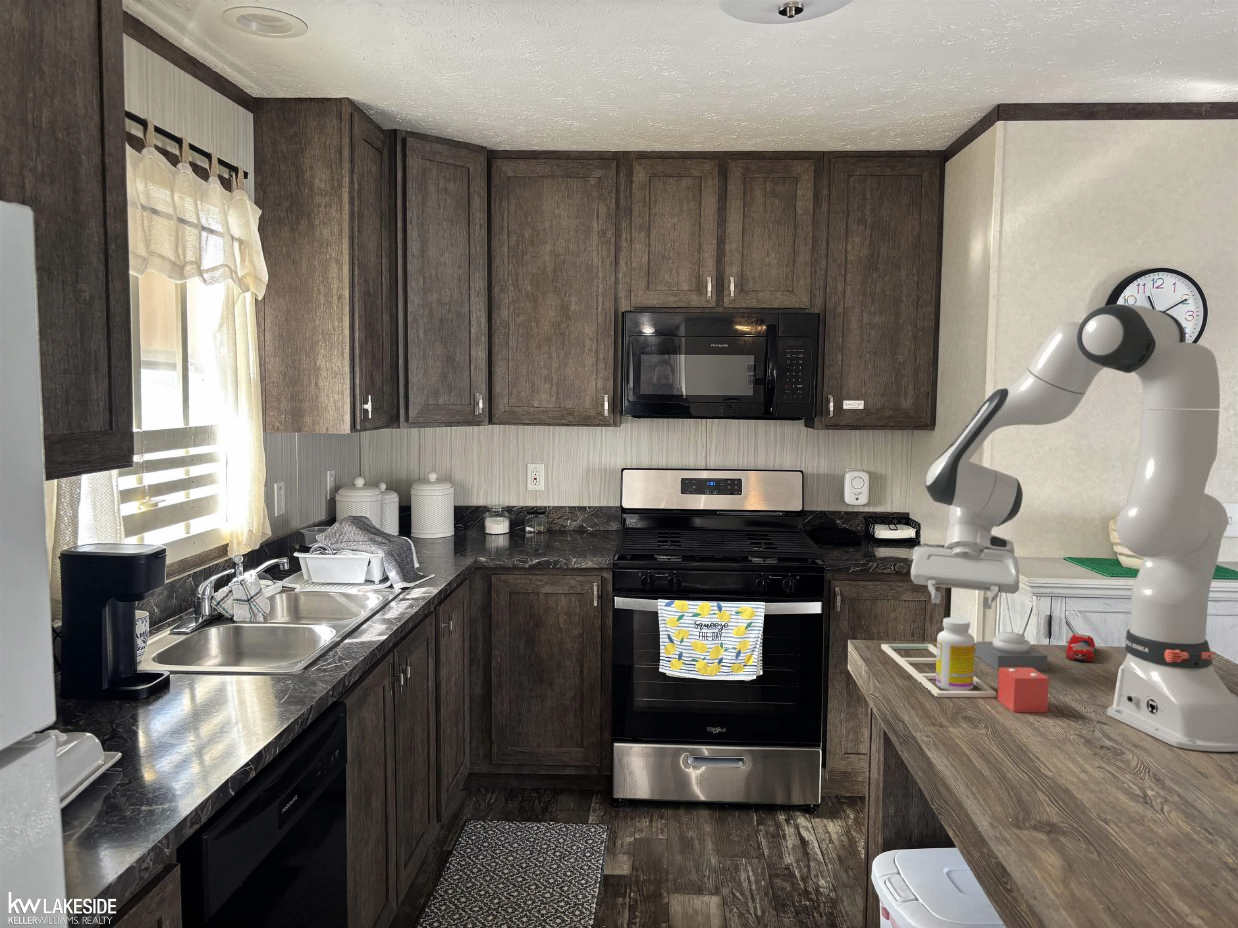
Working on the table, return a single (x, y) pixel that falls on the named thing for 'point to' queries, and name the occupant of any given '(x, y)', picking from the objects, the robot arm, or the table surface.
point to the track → (923, 677)
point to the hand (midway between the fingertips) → (960, 604)
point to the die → (1023, 689)
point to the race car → (1081, 648)
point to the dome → (1011, 642)
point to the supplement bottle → (955, 656)
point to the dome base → (1011, 657)
